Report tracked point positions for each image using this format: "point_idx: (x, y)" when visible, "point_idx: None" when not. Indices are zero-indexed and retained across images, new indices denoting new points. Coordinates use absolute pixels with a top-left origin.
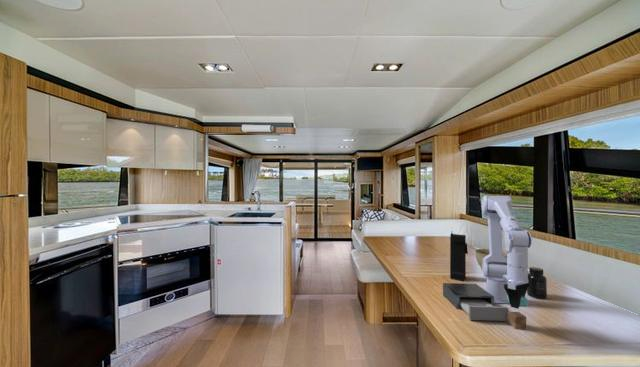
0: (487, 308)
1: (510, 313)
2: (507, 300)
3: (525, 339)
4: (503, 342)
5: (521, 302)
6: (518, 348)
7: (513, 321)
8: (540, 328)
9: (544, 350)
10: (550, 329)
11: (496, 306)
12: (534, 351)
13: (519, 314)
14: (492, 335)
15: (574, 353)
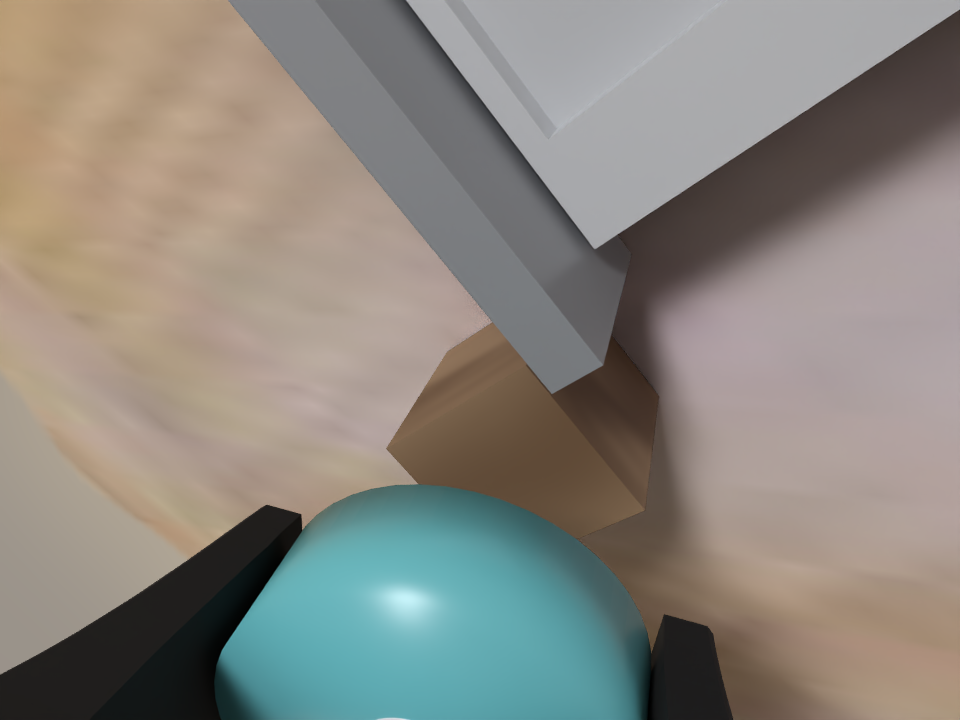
0: (258, 13)
1: (473, 393)
2: (371, 510)
3: (264, 426)
4: (12, 245)
5: None
6: (38, 362)
7: (449, 375)
8: (678, 583)
9: (198, 530)
10: (724, 659)
11: (458, 190)
12: (112, 466)
13: (530, 506)
14: (41, 127)
15: None
